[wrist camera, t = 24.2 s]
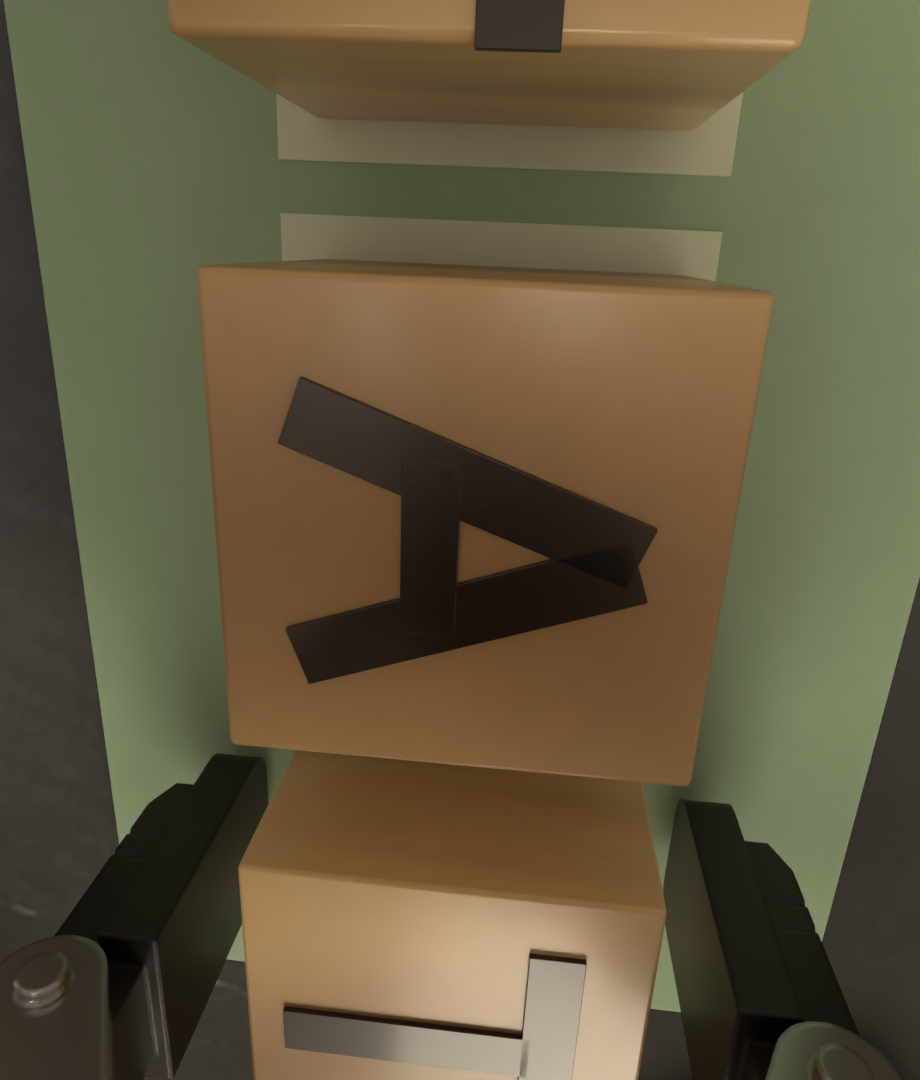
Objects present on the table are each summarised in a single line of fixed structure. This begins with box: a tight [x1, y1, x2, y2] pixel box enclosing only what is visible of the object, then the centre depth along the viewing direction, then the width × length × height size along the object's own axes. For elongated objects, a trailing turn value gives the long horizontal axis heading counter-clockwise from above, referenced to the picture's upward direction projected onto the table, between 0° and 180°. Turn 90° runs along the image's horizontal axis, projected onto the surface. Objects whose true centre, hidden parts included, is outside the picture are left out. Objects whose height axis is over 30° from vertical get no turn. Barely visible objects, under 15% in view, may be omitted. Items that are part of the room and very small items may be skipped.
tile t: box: [238, 750, 667, 1080], centre depth 11 cm, size 4×4×4 cm
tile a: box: [197, 259, 774, 787], centre depth 9 cm, size 4×4×4 cm
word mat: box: [3, 0, 920, 1012], centre depth 11 cm, size 20×12×1 cm, turn 178°
